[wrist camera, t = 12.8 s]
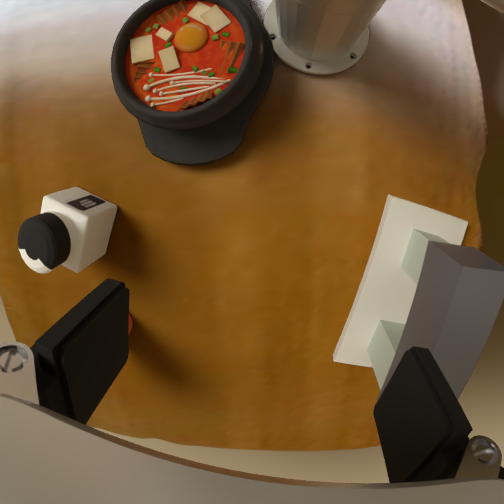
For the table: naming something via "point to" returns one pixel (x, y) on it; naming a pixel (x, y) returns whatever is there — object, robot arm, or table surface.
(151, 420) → the table surface
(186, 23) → the casserole
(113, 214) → the container
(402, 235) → the stand
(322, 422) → the table surface
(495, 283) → the bar
